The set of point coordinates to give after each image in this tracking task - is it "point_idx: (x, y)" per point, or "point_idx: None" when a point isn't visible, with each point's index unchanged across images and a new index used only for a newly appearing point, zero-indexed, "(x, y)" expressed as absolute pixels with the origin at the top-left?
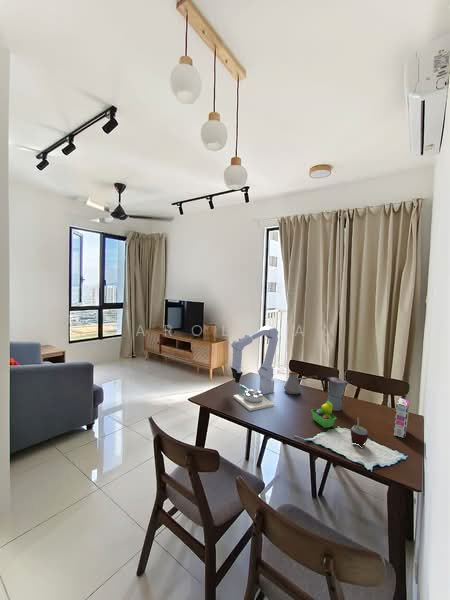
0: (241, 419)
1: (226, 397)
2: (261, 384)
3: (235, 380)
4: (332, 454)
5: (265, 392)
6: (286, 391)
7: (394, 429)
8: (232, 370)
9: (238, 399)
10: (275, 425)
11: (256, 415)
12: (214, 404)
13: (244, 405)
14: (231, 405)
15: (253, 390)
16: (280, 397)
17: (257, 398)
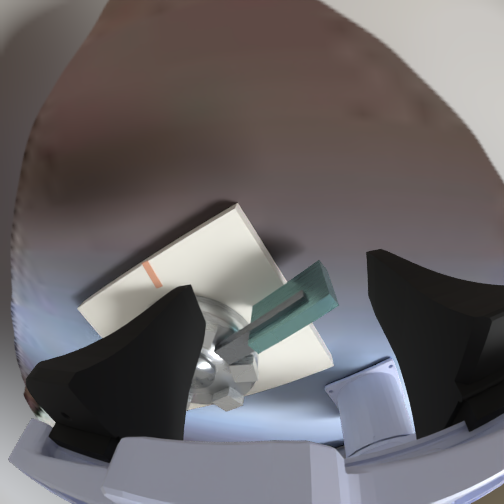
0: (13, 255)
1: (226, 142)
2: (361, 417)
3: (159, 301)
4: (30, 404)
5: (337, 397)
6: (342, 449)
7: None
8: (434, 315)
9: (165, 249)
10: (45, 359)
11: (64, 320)
12: (88, 81)
13: (112, 281)
14: (100, 197)
15: (238, 381)
16: (291, 431)
17: None
